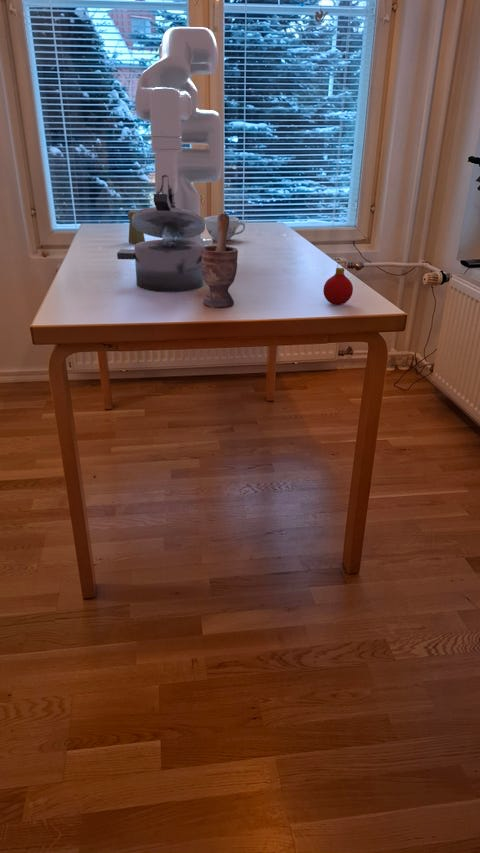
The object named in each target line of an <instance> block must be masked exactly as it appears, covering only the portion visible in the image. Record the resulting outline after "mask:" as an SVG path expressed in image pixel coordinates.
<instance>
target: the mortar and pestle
mask: <svg viewBox="0 0 480 853" xmlns="http://www.w3.org/2000/svg"><path fill="white" fill-rule="evenodd" d="M218 216H219V217H218V221H217V234H218V237H217V241H216V245H205V246H203V247H202V248H201V269H202V275H203V283H205V285H207V286H208V288H209V291H208V293H207V294H205V296H204V297H203V304H204V305H206V306H207V307H209V308H212V309H214V308H227V307H231V306H233V305H234V304H235V303H234V302H235V301H234V299H233V297H232V294H230V292H229V288H230V286H231V285H232V284H233V283H234V282H235V278H236V274H237V271H238V254H239V251H238V248H236V247H231V246H227V241H226V237H227V233H228V228H229V216H230V215H228V214H226V213H220V214H219V215H218Z"/></svg>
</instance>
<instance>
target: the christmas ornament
mask: <svg viewBox="0 0 480 853" xmlns="http://www.w3.org/2000/svg"><path fill="white" fill-rule="evenodd" d="M339 265H342V267H338V266H339ZM353 292H354V288H353V283H352V282H351V280H350V279H349V278H348V277H347V276H346V275H345V268H344V265H343V263H342V262H341V263H340V262H339V263H338V264H337V267H336V268H335V273H334V275H332V276H331V277H329V278H328V279H327V280H326V281H325V283H324V285H323V296H324V298H325V299H326V301H327V302H328V303H330V304H331V305H335V306H340V305H341V306H342V305H344V304H346V303H348V301H350V299H351V298H352V296H353Z"/></svg>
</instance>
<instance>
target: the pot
mask: <svg viewBox="0 0 480 853" xmlns="http://www.w3.org/2000/svg"><path fill="white" fill-rule="evenodd" d="M133 247H134V248H133V249H131V248H130V249H124V248H121V249H120V250H118V251H117V253H116V255H117V256H116V258H117V260H129V261H130V260H131V261H132V260H134V263H135V278H136V279H135V280H136V287H137V288H140V289H141V290H145V291H151V292H159V293H180V292H190V291H194V290H197V289H200V288H201V287H203V286H204V279H203V275H202V269H201V248H202V247H204V246H203V245H202V244H200V243H197V242H193V241H186V240H184V239H166V238H161V239H152V240H145V241H144V242H140V243H137V244H133Z"/></svg>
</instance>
